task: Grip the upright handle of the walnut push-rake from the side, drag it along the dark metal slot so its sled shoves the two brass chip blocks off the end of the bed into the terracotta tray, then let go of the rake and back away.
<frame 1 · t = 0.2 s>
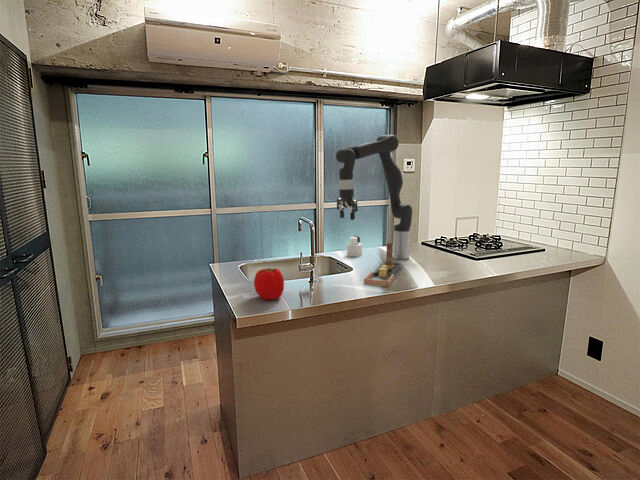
hand: (347, 218, 205), 29 cm above the worktop, tool pointing down, fingers open, 8 cm apart
tray: (379, 282, 191), on the worktop
chip b: (383, 276, 198), point 1 cm above the worktop, touching slot bed
chip a: (385, 273, 203), point 1 cm above the worktop, touching slot bed
rake: (389, 269, 210), point 1 cm above the worktop, touching slot bed
medicine bottle: (354, 255, 244), on the worktop
red bell pepper: (270, 297, 171), on the worktop
slot bed: (387, 273, 206), on the worktop
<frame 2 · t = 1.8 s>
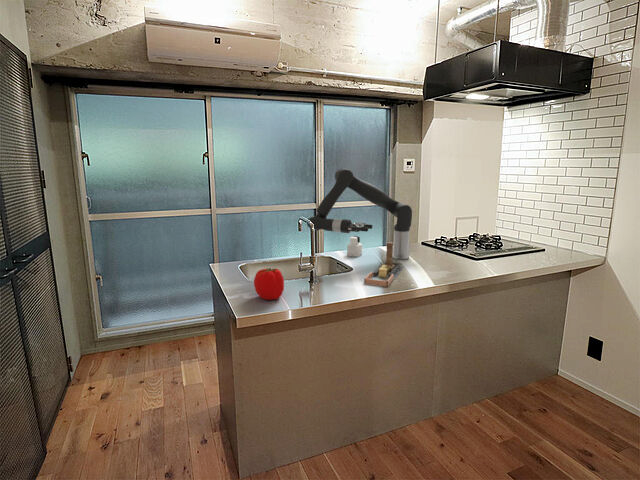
hand: (370, 228, 209), 23 cm above the worktop, tool horizontal, fingers open, 8 cm apart
nothing on the worktop moved.
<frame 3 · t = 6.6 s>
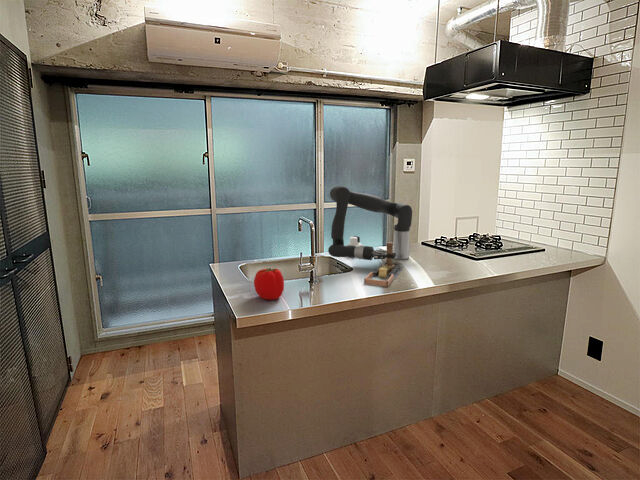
hand: (394, 255, 207), 9 cm above the worktop, tool horizontal, fingers closed on rake, 2 cm apart
rake: (389, 269, 210), point 1 cm above the worktop, touching gripper, slot bed
everything else where it was.
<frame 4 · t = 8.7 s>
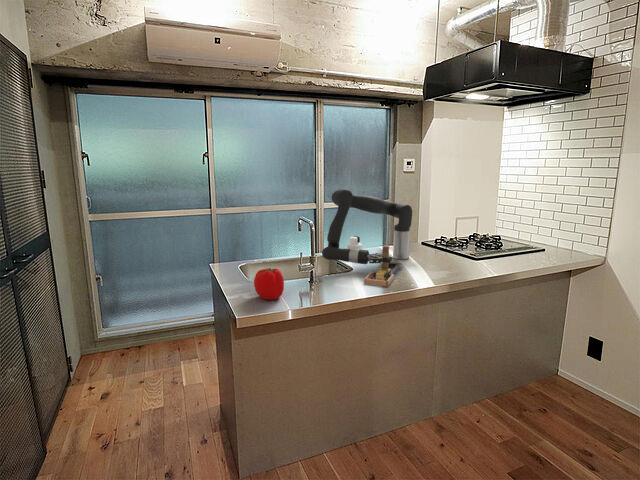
hand: (390, 259, 199), 9 cm above the worktop, tool horizontal, fingers closed on rake, 3 cm apart
chip b: (380, 280, 193), resting on tray, touching chip a
chip a: (382, 276, 197), point 1 cm above the worktop, touching chip b, rake
rake: (384, 273, 202), point 1 cm above the worktop, touching chip a, gripper
everything else where it was.
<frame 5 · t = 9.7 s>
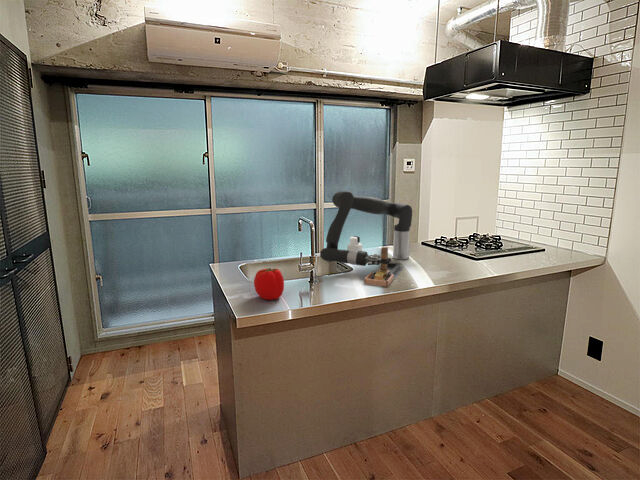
hand: (389, 261, 196), 9 cm above the worktop, tool horizontal, fingers closed on rake, 3 cm apart
chip b: (379, 282, 191), resting on tray, touching chip a
chip a: (381, 279, 194), point 1 cm above the worktop, touching chip b, rake
rake: (383, 275, 199), point 1 cm above the worktop, touching chip a, gripper, slot bed
everything else where it was.
when the fingers open (9 cm above the worktop, at t = 10.7 s): rake stays where it is, resting on slot bed.
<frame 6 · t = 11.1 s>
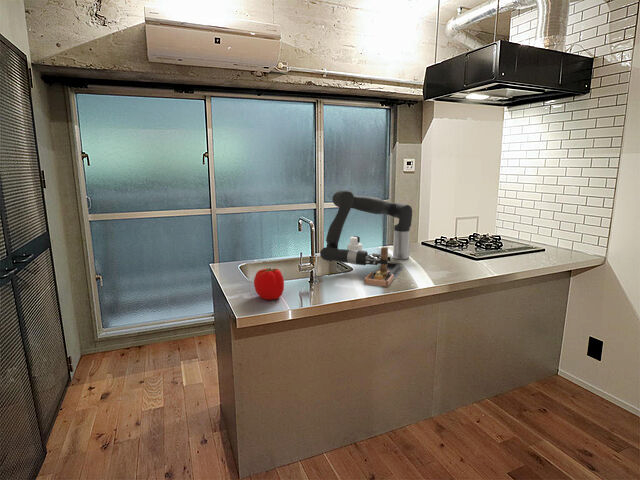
hand: (388, 260, 196), 9 cm above the worktop, tool horizontal, fingers open, 6 cm apart
chip b: (379, 282, 190), resting on tray
chip a: (381, 279, 194), resting on tray
rake: (383, 275, 199), point 1 cm above the worktop, touching slot bed
everything else where it was.
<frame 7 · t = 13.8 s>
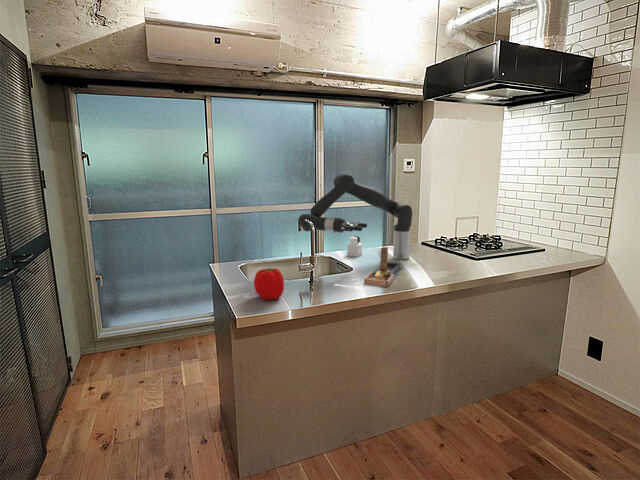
hand: (364, 227, 198), 26 cm above the worktop, tool horizontal, fingers open, 8 cm apart
nothing on the worktop moved.
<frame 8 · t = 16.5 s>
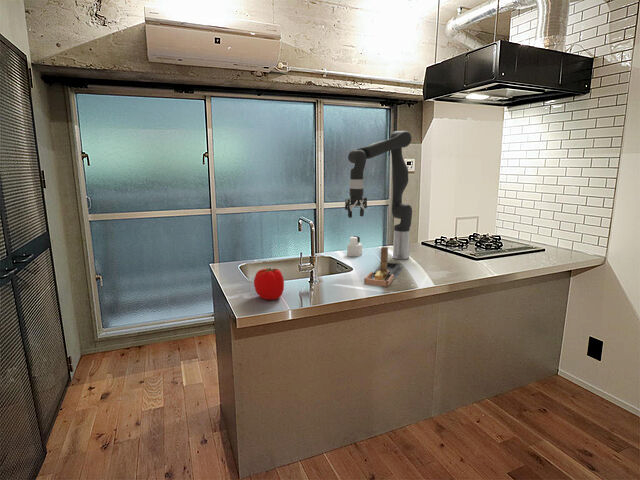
hand: (355, 216, 215), 28 cm above the worktop, tool pointing down, fingers open, 8 cm apart
nothing on the worktop moved.
at the end: chip a 3.6 cm from the tray (horizontally); chip b 0.4 cm from the tray (horizontally); rake tilted 0° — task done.
